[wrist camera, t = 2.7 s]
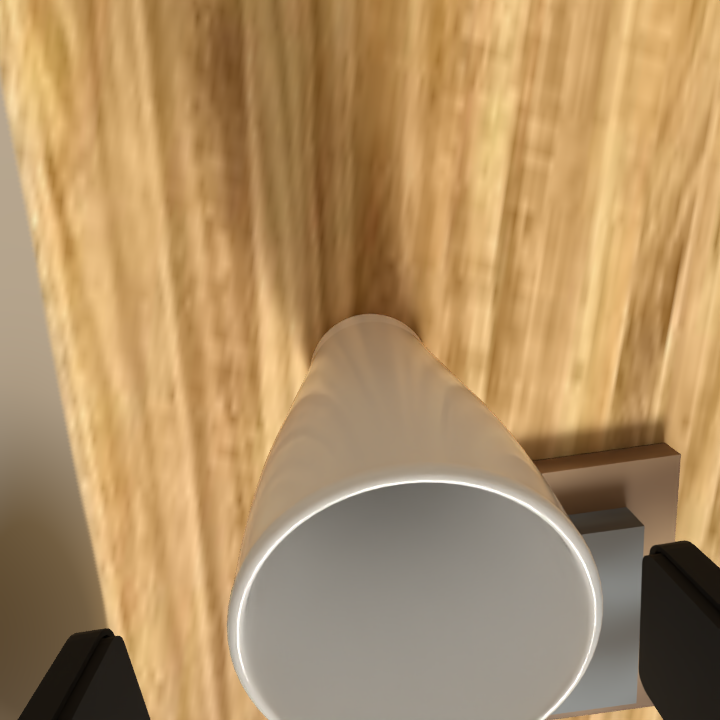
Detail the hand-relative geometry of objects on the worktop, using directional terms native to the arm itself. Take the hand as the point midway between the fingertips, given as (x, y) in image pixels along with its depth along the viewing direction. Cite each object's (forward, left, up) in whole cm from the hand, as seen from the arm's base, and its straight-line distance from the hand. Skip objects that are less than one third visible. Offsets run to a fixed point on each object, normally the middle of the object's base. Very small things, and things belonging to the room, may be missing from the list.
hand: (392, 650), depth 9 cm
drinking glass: (0, 0, -15) cm, 15 cm away
